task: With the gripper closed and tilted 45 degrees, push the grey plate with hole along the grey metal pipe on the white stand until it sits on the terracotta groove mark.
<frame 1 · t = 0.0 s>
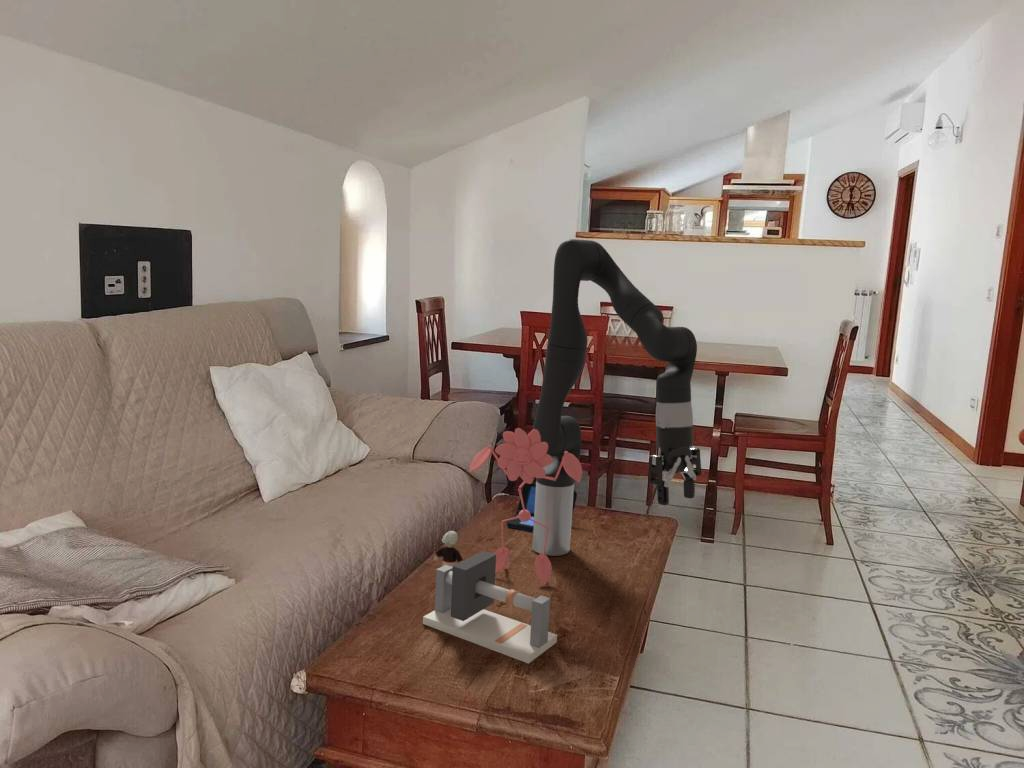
hand: (676, 501, 165), 22 cm above the table, tool pointing down, fingers open, 8 cm apart
pipe stand: (488, 632, 151), on the table
grey plate with hole: (473, 585, 152), point 9 cm above the table, slide at 0.0 cm
flower: (515, 584, 175), on the table
grandmother figurine: (448, 588, 170), on the table
handheld game console: (540, 526, 213), on the table
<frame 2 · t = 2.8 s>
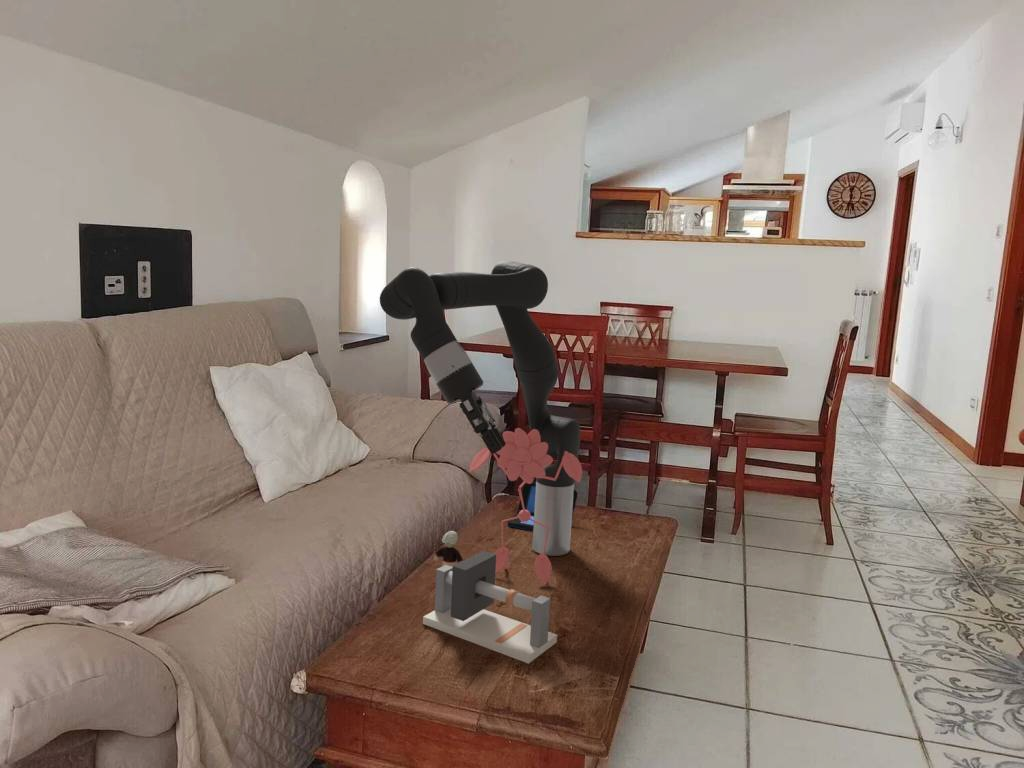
hand: (499, 449, 142), 37 cm above the table, tool tilted 35°, fingers open, 8 cm apart
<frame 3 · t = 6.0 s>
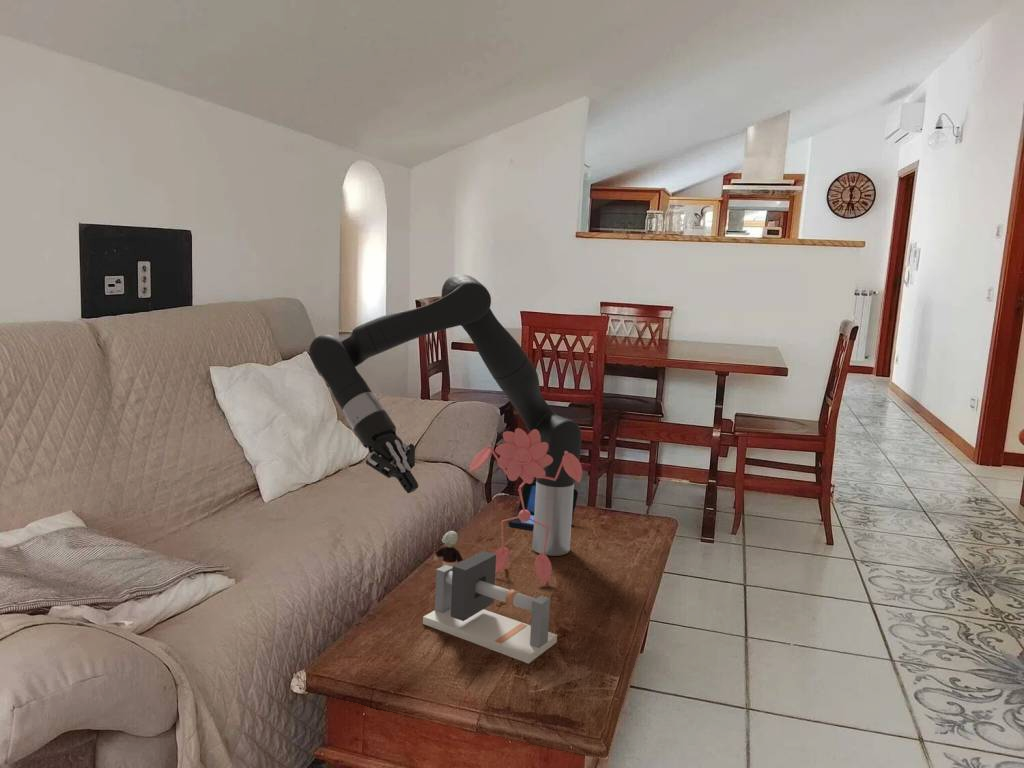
hand: (413, 490, 157), 24 cm above the table, tool tilted 45°, fingers closed
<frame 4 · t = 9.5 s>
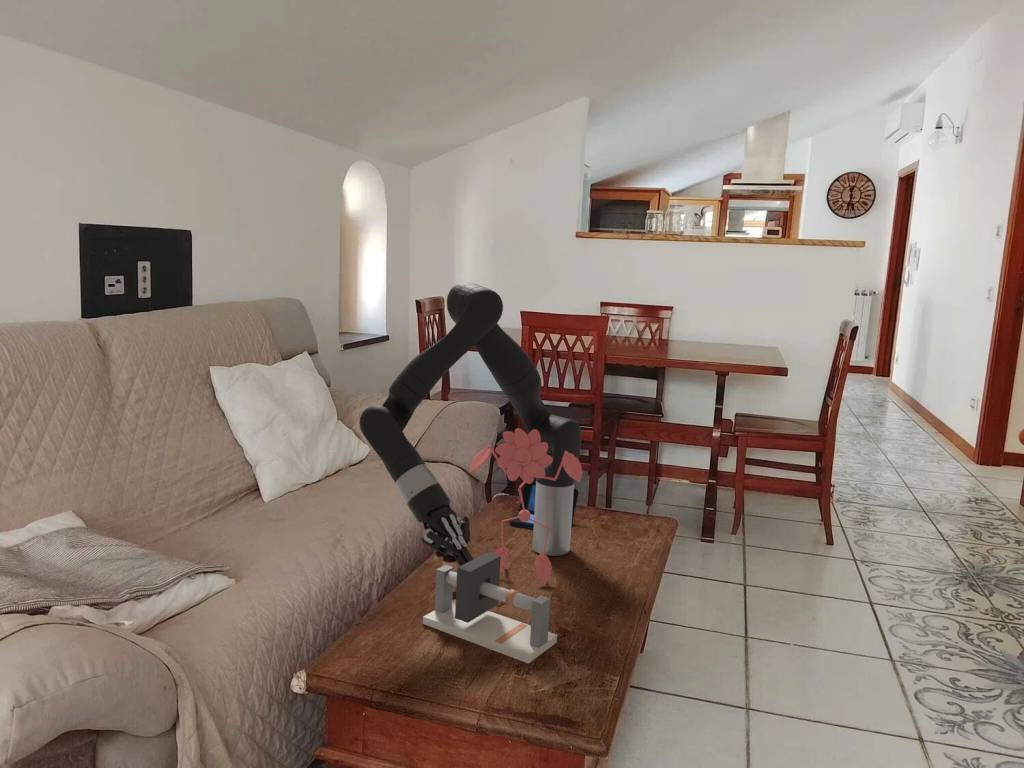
hand: (470, 567, 152), 12 cm above the table, tool tilted 45°, fingers closed
grey plate with hole: (478, 586, 151), point 9 cm above the table, slide at 1.0 cm, touching gripper
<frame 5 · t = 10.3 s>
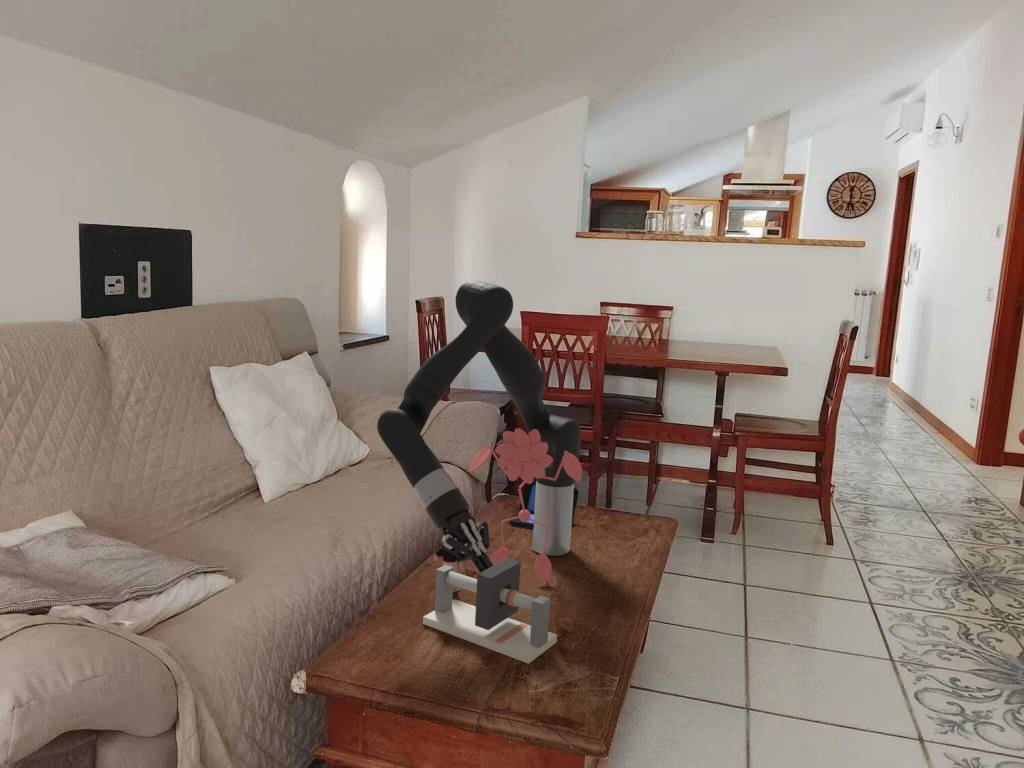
hand: (490, 574, 150), 12 cm above the table, tool tilted 45°, fingers closed
grey plate with hole: (498, 593, 149), point 8 cm above the table, slide at 5.7 cm, touching gripper
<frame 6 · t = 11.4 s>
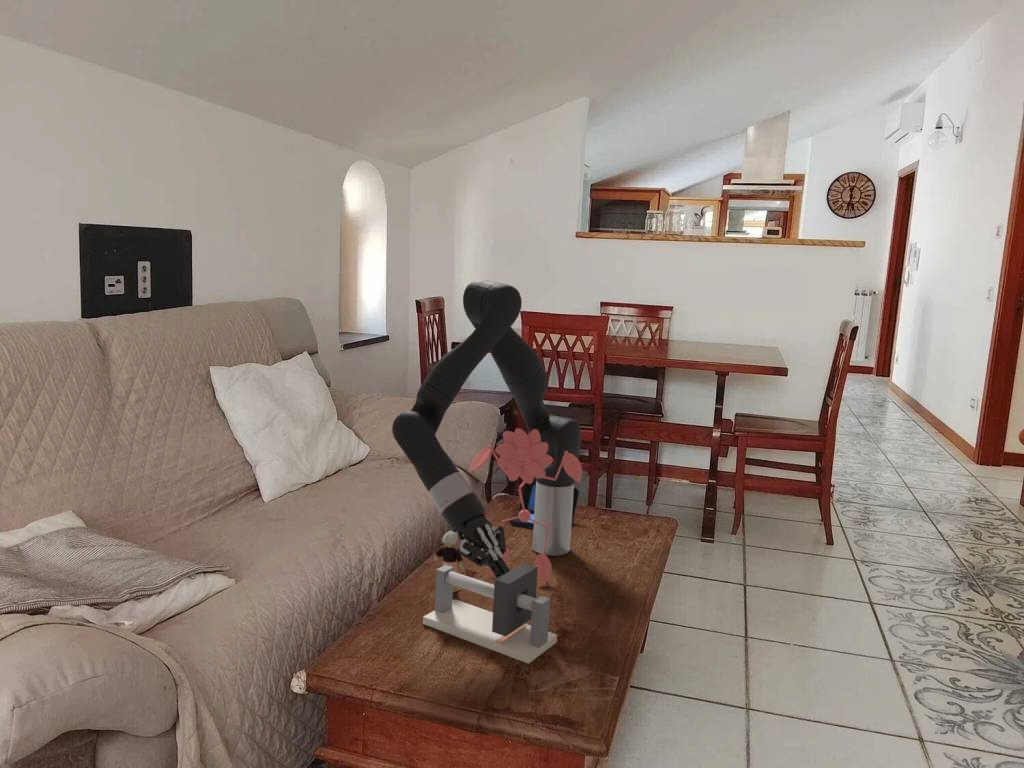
hand: (506, 579, 147), 12 cm above the table, tool tilted 45°, fingers closed
grey plate with hole: (515, 598, 147), point 9 cm above the table, slide at 9.5 cm, touching gripper
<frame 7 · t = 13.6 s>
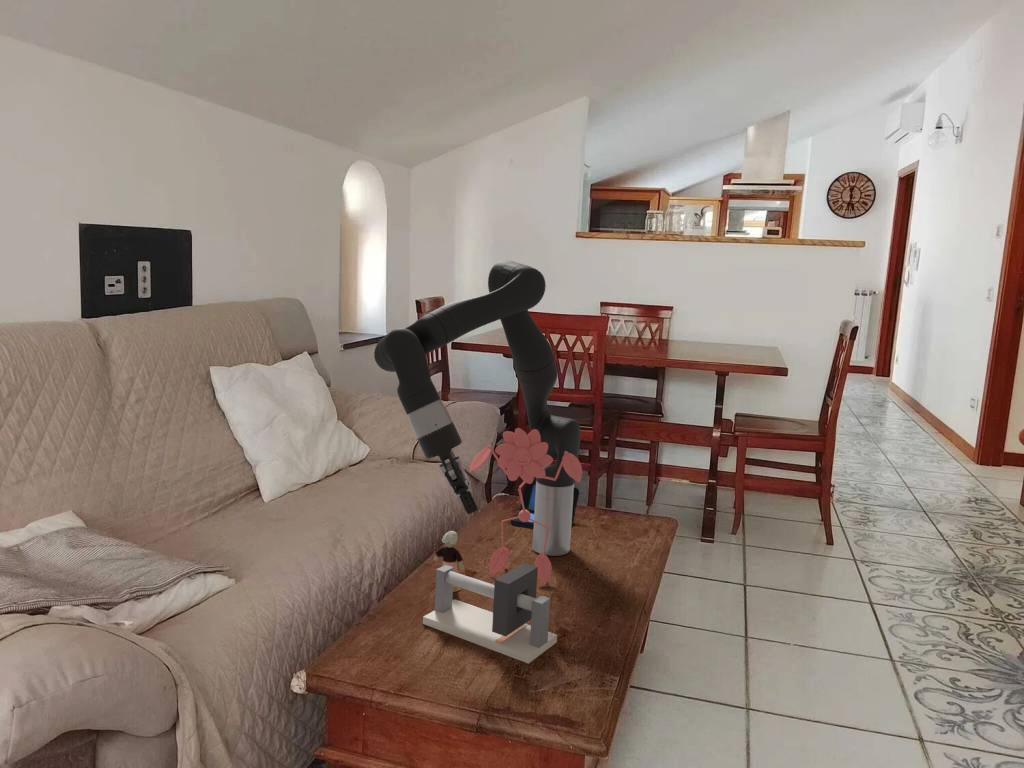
hand: (473, 511, 150), 23 cm above the table, tool tilted 30°, fingers closed
grey plate with hole: (515, 598, 147), point 9 cm above the table, slide at 9.5 cm
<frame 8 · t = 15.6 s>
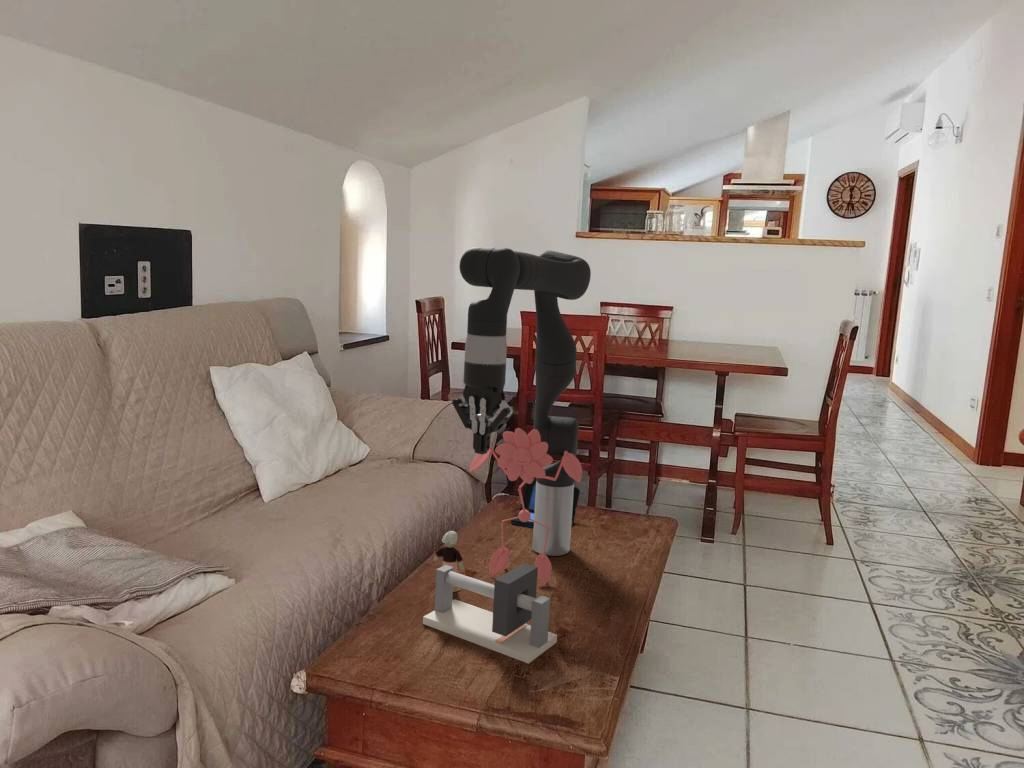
hand: (480, 452, 146), 35 cm above the table, tool pointing down, fingers closed
at the end: grey plate with hole slide at 9.5 cm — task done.
